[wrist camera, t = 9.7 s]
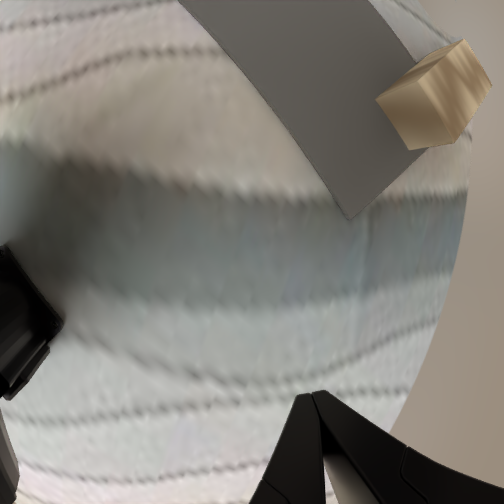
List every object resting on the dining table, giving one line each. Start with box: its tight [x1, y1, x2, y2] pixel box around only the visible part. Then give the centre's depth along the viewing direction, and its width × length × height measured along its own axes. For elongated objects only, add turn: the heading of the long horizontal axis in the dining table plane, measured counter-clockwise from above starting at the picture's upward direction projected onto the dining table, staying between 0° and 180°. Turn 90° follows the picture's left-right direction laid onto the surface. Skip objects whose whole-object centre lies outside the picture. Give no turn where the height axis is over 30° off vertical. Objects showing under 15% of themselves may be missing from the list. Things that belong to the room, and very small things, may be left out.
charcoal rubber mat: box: [178, 0, 429, 220], centre depth 16 cm, size 22×14×1 cm, turn 38°
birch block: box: [375, 39, 492, 150], centre depth 17 cm, size 4×4×10 cm
